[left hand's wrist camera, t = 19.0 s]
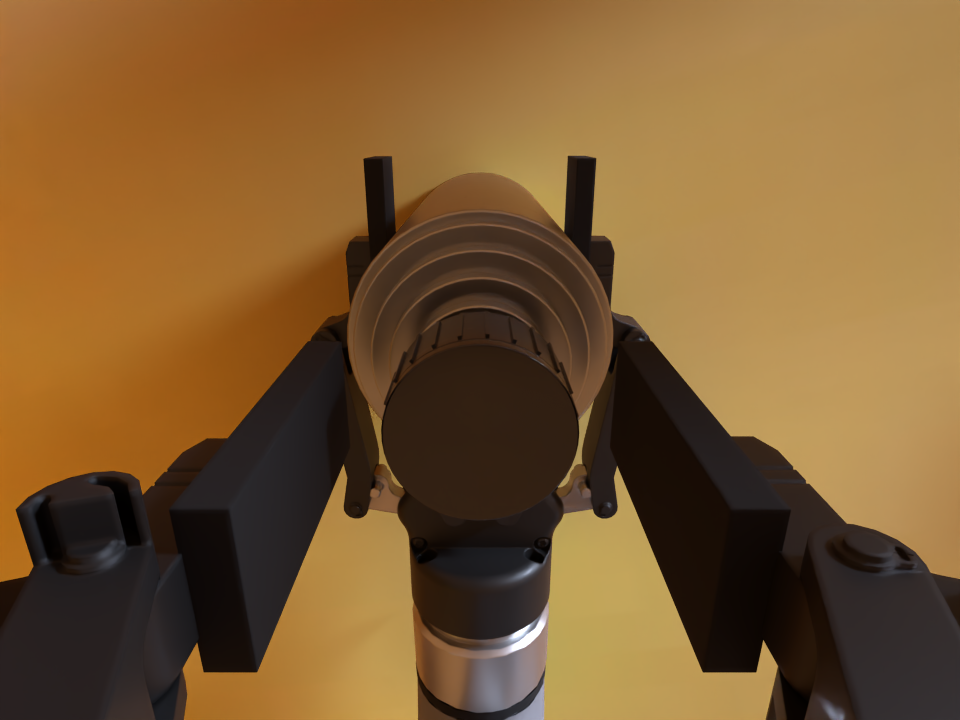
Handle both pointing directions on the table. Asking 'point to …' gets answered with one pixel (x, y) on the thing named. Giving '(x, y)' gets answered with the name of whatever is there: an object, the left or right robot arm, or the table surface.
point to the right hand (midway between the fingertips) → (479, 157)
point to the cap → (480, 418)
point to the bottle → (480, 283)
